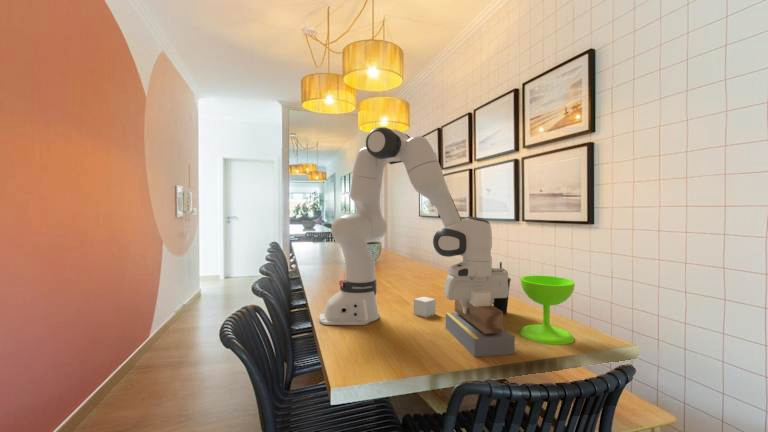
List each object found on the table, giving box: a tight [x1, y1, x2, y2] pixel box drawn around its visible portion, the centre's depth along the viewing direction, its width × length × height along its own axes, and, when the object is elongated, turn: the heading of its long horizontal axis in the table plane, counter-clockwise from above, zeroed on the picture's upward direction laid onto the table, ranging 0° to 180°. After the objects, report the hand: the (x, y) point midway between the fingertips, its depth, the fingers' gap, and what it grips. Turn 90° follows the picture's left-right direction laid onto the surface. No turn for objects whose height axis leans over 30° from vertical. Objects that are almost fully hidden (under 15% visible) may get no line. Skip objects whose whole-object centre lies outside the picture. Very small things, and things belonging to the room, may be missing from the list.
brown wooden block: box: [454, 300, 504, 334], centre depth 110 cm, size 6×22×6 cm, turn 11°
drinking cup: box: [492, 261, 512, 315], centre depth 138 cm, size 8×8×20 cm
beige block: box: [468, 290, 491, 307], centre depth 108 cm, size 5×5×4 cm
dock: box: [445, 312, 516, 358], centre depth 111 cm, size 12×24×5 cm, turn 9°
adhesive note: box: [413, 296, 436, 318], centre depth 137 cm, size 6×6×6 cm
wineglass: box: [519, 274, 576, 346], centre depth 114 cm, size 16×16×18 cm
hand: (476, 312), depth 110 cm, fingers closed on brown wooden block, 5 cm apart
